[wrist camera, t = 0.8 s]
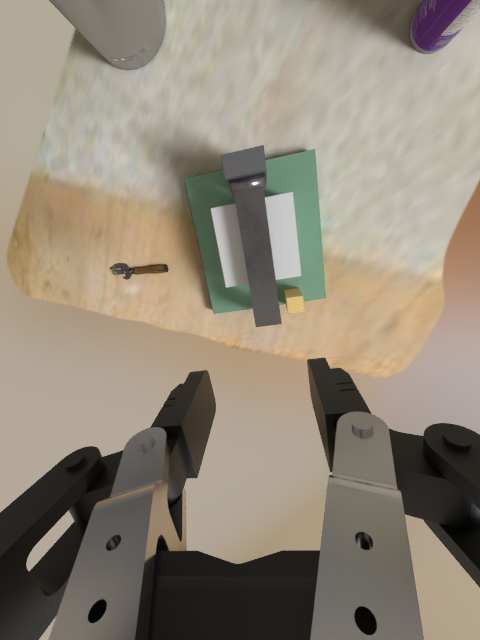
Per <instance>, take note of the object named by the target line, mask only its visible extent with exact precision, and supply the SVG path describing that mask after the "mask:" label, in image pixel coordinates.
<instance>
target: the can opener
mask: <svg viewBox="0 0 480 640" xmlns="http://www.w3.org/2000/svg"><path fill="white" fill-rule="evenodd" d="M116 268H121V269H122V271H113V274H114V275H117V274H126V275H127V277H126V278H124V277H123V278H124V279H129V278H130V277H131V274H136V275H137V274H145V273H163V272H168V267H167V265H153V266H148V267H136V268H132V269H131V268H129V267H128V265H127V264H124V263H118V264H115V265H113V266H112V267H111V268H110V269H116Z"/></svg>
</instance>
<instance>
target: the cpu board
mask: <svg viewBox="0 0 480 640" xmlns="http://www.w3.org/2000/svg"><path fill="white" fill-rule="evenodd" d="M221 158H222V164H223V170H219V171H215V172H211V173H206V174H202V175H197V176H193V177H188V178H184V180H185V184H186V189H187V194H188V198H189V203H190V207H191V212H192V217H193V221H194V226H195V230H196V235H197V240H198V244H199V249H200V253H201V258H202V263H203V267H204V272H205V276H206V281H207V286H208V290H209V295H210V299H211V304H212V309H213V313H214V314H216V313H223V312H231V311H238V310H245V309H252V308H253V306H252V300H251V294H250V288H249V282H248V276H247V270H246V264H245V258H244V252H243V246H242V240H241V234H240V228H239V222H238V216H237V210H236V204H235V197H234V195H231V192H230V187H229V180H233V179H237V178H242V177H246V176H251V175H256V174H260V173H265V180H266V188H264V196H265V204H266V211H267V219H268V226H269V234H270V241H271V249H272V256H273V264H274V271H275V279H276V286H277V294H278V301H279V305H280V304H286V307H287V311H288V314H289V313H296V312H303V311H304V302H303V301H309V300H316V299H323V298H326V293H325V279H324V266H323V252H322V238H321V225H320V211H319V197H318V184H317V170H316V156H315V149H313V150H309V151H304V152H300V153H295V154H291V155H286V156H282V157H277V158H273V159H269V160H265V154H264V146H258V147H254V148H250V149H245V150H241V151H237V152H233V153H228V154H224V155H221Z"/></svg>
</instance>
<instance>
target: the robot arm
mask: <svg viewBox="0 0 480 640" xmlns="http://www.w3.org/2000/svg"><path fill="white" fill-rule="evenodd" d="M49 1H50V2H51V3H52V4H53V5H54V6H55V7H56V8H57V9H58V10H59V11H60V12H61V13H62V14H63V15H64V16H65V17H66V18H67V19H68V21H69V22H70V23H71V24H72V25H73V26H74V27H75V28H76V29H77V30H78V31H79V32H80V33H81V34H82V35H83V36H84V37H85V38H86V39H87V40H88V42H89V43H90V44H91V45H92V46H93V47H94V48H95V49H96V50H97V51H98V52H99V53H100V54H101V55H102V56H103V57H104V58H105V59H106V60H107V61H108V62H110V63H111V64H112V65H114V66H116V67H119V68H121V69H128V70H131V69H138V68H140V67H142V66H144V65H146V64H147V63H148V62H150V61H151V60H152V59H153V57H154V56H155V55H156V53H157V52H158V50H159V48H160V46H161V44H162V40H163V37H164V33H165V23H166V18H165V7H164V2H163V0H49ZM307 364H308V373H309V383H310V392H311V399H312V404H313V408H314V411H315V416H316V420H317V423H318V427H319V431H320V435H321V439H322V443H323V446H324V450H325V454H326V458H327V461H328V466H329V469H330V472H332V475H330V476H329V478H328V486H327V494H326V503H325V512H324V521H323V530H322V539H321V548H320V551H280V552H277V553H274V554H271V555H267V556H264V557H261V558H258V559H255V560H252V561H249V562H246V563H242V564H234V563H230V562H228V561H225V560H222V559H219V558H216V557H213V556H210V555H208V554H204V553H202V552H199V551H187V550H186V492H185V489H184V485H185V481H186V478H197V477H198V473H199V470H200V466H201V463H202V459H203V455H204V452H205V448H206V445H207V441H208V438H209V434H210V430H211V427H212V423H213V419H214V416H215V411H216V403H215V397H214V393H213V389H212V385H211V381H210V377H209V373H208V371H207V370H205V371H195V372H190V373H189V375H188V377H187V379H186V381H185V383H184V384H179V385H178V386H177V387H176V388H175V389H174V390H173V391H171V393H170V395H169V397H168V398H167V401H166V402H165V403H164V405H163V407H162V409H161V410H160V412H159V414H158V416H157V417H156V419H155V421H154V422H153V424H152V426H151V427H150V428H148V429H145V430H143V431H140V432H139V433H137V434H136V435H134V436H133V437H132V438H131V439H130V440H129V441H128V442H127V444H126V445H125V448H124V450H123V451H120V452H117V453H114V454H111V455H108V456H104V457H102V456H101V453H100V451H99V449H98V448H97V447H92V446H91V447H84V448H81V449H79V450H76V451H75V452H73V453H71V454H69V455H68V456H66V457H65V458H64V459H63V460H61V461H60V462H59V463H58V464H57V465H55V466H54V467H53V468H52V469H51V470H50V471H49V472H47V473H46V474H45V475H44V476H43V477H42V478H40V479H39V480H38V481H37V482H36V483H35V484H33V485H32V486H31V487H30V488H29V489H27V490H26V491H25V492H24V493H23V494H22V495H21V496H19V497H18V498H17V499H16V500H15V501H13V502H12V503H11V504H10V505H9V506H8V507H6V508H5V509H4V510H3V511H2V512H1V513H0V640H39V638H40V637H41V635H42V634H43V633H44V632H45V630H46V629H47V627H48V626H49V625H50V623H51V622H52V621H53V619H54V618H55V616H56V615H57V616H56V619H55V622H54V625H53V628H52V631H51V634H50V637H49V640H424V636H423V630H422V623H421V617H420V610H419V604H418V598H417V591H416V585H415V579H414V573H413V566H412V559H411V552H410V546H409V540H408V533H407V527H406V520H405V514H406V515H410V516H413V517H417V518H420V519H423V520H424V521H425V523H426V524H427V525H428V527H429V528H430V529H431V530H432V531H433V532H434V534H435V535H436V536H437V537H438V538H439V540H440V541H441V542H442V543H443V544H444V546H445V547H446V548H447V549H448V550H449V551H450V553H451V554H452V555H453V556H454V557H455V558H456V560H457V561H458V562H459V563H460V565H461V566H462V567H463V568H464V569H465V570H466V572H467V573H468V574H469V575H470V576H471V578H472V579H473V580H474V581H475V582H476V584H477V585H478V586H479V587H480V435H479V434H477V433H476V432H474V431H472V430H469V429H467V428H465V427H462V426H458V425H454V424H447V423H440V424H433V425H431V426H429V427H428V428H426V430H425V431H424V436H419V435H413V434H407V433H401V432H397V431H394V430H391V429H389V428H388V426H387V425H386V423H385V422H384V421H383V420H381V419H380V418H379V417H377V416H375V415H372V414H371V412H370V410H369V409H368V407H367V405H366V403H365V401H364V400H363V398H362V396H361V394H360V393H359V391H358V390H357V387H356V386H355V384H354V382H353V380H352V378H351V377H350V375H349V374H348V373H347V372H345V371H344V370H342V369H341V368H333V369H330V367H329V365H328V363H327V361H326V359H325V358H317V359H308V360H307ZM68 510H69V511H70V513H71V515H72V517H73V519H74V521H75V522H74V523H73V524H72V525H71V526H70V527H69V528H68V529H67V531H66V532H65V533H64V534H63V535H62V536H61V537H60V539H58V541H57V542H56V543H55V544H54V545H53V546H52V547H51V548H50V549H49V551H48V552H47V553H46V554H45V555H44V556H43V557H42V558H41V560H40V561H39V562H38V563H37V564H36V565H35V566H34V567H33V569H31V570H30V571H29V572H28V570H27V568H26V561H27V558H28V555H29V553H30V552H31V550H32V549H33V547H34V546H35V545H36V544H37V543H38V542H39V541H40V539H41V538H42V537H43V536H44V535H45V534H46V533H47V532H48V531H49V530H50V529H51V528H52V527H53V526H54V525H55V524H56V523H57V521H58V520H59V519H60V518H61V517H62V516H63V515H64V514H65V513H66V512H67V511H68Z"/></svg>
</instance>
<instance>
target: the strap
mask: <svg viewBox="0 0 480 640" xmlns="http://www.w3.org/2000/svg"><path fill="white" fill-rule="evenodd" d="M229 187H230V192H231V195H234V197H235V204H236V210H237V216H238V222H239V228H240V234H241V240H242V246H243V252H244V258H245V264H246V270H247V276H248V282H249V288H250V294H251V300H252V306H253V312H254V318H255V324H256V327H261V326H268V325H276V324H281V316H280V309H279V301H278V294H277V286H276V279H275V271H274V264H273V256H272V249H271V241H270V234H269V226H268V219H267V211H266V204H265V196H264V188H266V180H265V173H260V174H256V175H251V176H246V177H242V178H237V179H233V180H229Z"/></svg>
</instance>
